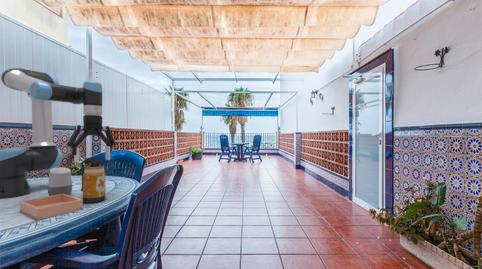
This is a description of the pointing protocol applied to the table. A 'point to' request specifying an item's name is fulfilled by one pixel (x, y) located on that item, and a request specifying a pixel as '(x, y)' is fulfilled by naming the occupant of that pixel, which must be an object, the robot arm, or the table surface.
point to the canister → (93, 180)
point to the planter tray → (50, 206)
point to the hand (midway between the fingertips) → (93, 161)
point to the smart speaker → (59, 181)
